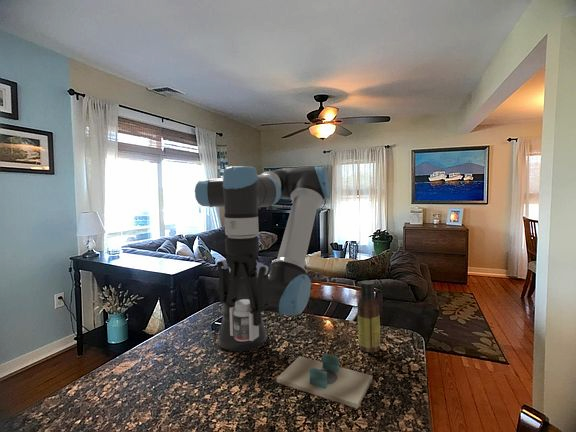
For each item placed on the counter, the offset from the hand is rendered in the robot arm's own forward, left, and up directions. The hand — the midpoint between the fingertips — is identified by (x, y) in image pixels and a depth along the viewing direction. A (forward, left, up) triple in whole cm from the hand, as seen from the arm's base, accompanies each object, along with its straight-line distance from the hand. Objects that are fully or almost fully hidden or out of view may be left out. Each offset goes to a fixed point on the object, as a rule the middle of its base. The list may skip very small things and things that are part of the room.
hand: (244, 335), depth 74 cm
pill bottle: (0, 0, -1) cm, 1 cm away
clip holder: (+15, +12, -13) cm, 23 cm away
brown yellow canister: (+20, +33, -13) cm, 41 cm away
